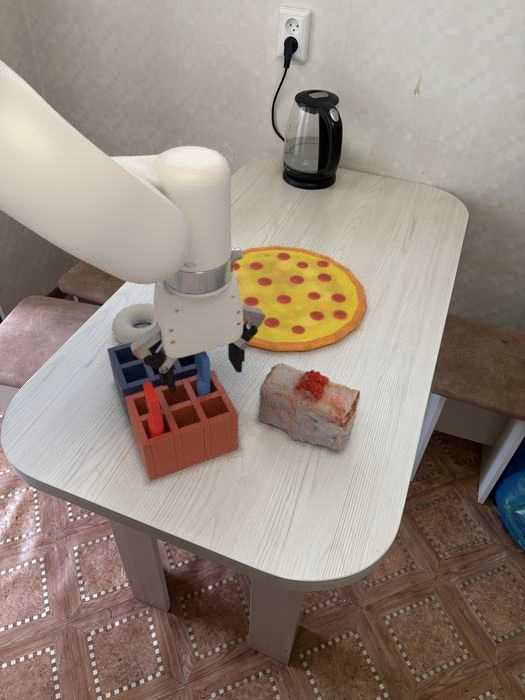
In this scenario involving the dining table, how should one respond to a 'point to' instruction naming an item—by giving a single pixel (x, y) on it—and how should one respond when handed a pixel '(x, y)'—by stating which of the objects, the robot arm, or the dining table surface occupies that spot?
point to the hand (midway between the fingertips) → (203, 375)
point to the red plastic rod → (153, 411)
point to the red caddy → (184, 426)
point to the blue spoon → (203, 373)
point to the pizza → (298, 297)
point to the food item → (308, 406)
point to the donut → (132, 322)
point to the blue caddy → (142, 371)
